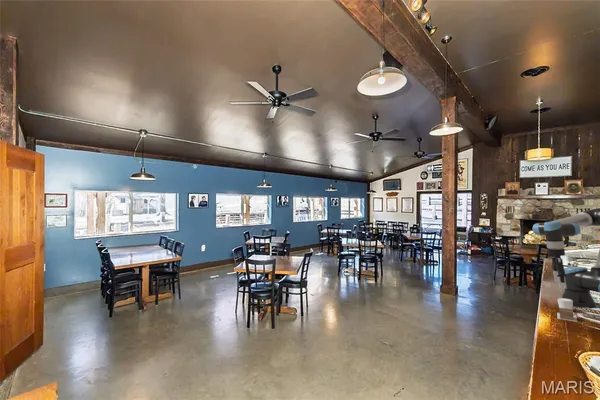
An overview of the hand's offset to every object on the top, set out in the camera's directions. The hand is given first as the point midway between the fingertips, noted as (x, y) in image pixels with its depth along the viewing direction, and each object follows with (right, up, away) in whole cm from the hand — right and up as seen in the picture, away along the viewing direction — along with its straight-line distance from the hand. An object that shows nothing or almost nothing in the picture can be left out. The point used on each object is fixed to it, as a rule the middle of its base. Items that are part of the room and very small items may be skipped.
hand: (560, 285), depth 159 cm
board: (+1, -18, -3) cm, 18 cm away
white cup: (+10, -18, +6) cm, 22 cm away
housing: (-1, -17, -5) cm, 18 cm away
